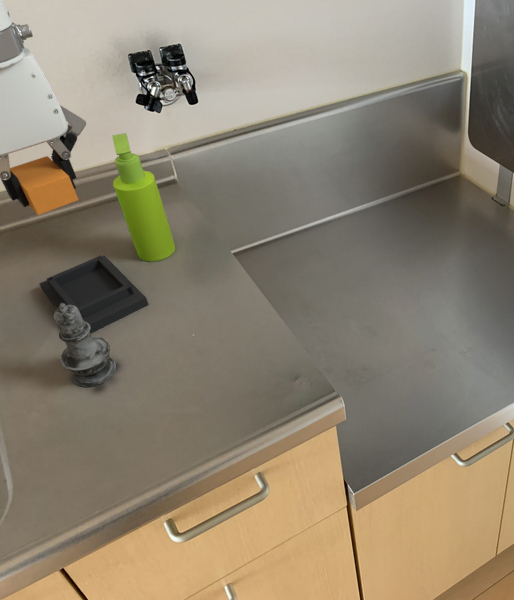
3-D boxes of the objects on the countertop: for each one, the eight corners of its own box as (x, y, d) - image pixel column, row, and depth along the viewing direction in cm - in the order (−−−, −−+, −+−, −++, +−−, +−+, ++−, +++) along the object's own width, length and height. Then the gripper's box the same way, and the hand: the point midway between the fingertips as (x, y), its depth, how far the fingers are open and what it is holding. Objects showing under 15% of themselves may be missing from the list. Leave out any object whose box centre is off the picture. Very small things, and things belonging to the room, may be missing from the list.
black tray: (81, 338, 84) (73, 322, 82) (42, 290, 92) (35, 275, 90) (148, 304, 90) (143, 289, 88) (107, 262, 97) (101, 247, 95)
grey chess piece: (121, 352, 82) (92, 284, 74) (114, 385, 78) (81, 317, 70) (75, 358, 82) (41, 289, 74) (65, 391, 77) (27, 323, 69)
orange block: (37, 215, 74) (26, 190, 72) (17, 193, 78) (6, 169, 76) (78, 200, 77) (68, 175, 75) (57, 179, 81) (47, 155, 78)
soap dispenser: (140, 269, 96) (99, 153, 83) (135, 245, 101) (96, 132, 87) (179, 259, 98) (144, 145, 84) (172, 236, 102) (138, 124, 89)
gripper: (49, 20, 72) (100, 160, 84) (-120, 57, 63) (-36, 207, 75) (74, 36, 68) (124, 180, 80) (-103, 77, 59) (-17, 233, 71)
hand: (46, 192), depth 77 cm, fingers closed on orange block, 5 cm apart
